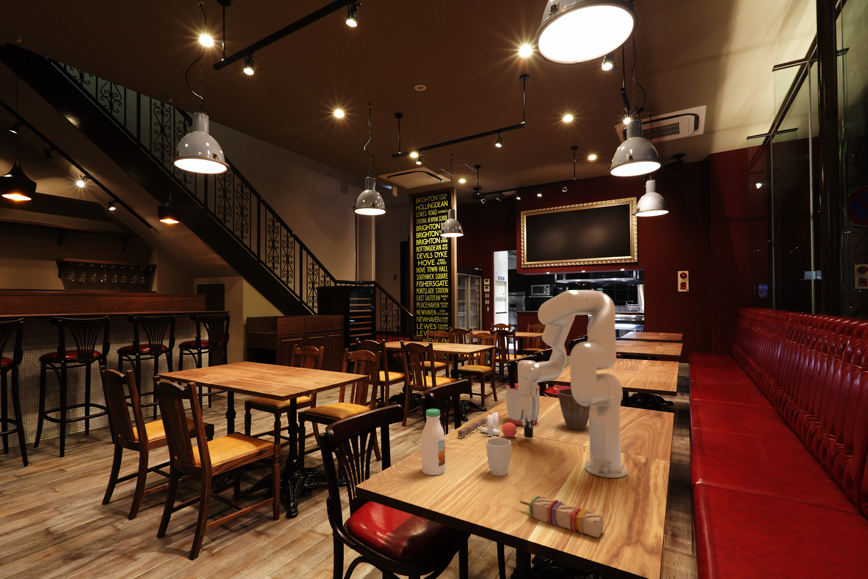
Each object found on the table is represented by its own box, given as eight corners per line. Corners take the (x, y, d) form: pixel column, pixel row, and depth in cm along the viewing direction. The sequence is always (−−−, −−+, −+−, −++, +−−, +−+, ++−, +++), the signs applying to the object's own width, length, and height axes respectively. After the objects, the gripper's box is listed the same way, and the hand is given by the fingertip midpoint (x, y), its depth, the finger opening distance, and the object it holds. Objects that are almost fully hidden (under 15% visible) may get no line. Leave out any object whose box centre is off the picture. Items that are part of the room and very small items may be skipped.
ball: (498, 424, 169) (501, 439, 168) (511, 423, 166) (514, 438, 165) (504, 421, 174) (507, 436, 173) (517, 420, 171) (520, 435, 170)
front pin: (498, 430, 171) (480, 427, 176) (498, 436, 171) (479, 433, 175) (500, 429, 173) (482, 426, 178) (500, 435, 173) (482, 432, 177)
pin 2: (496, 434, 174) (496, 414, 174) (491, 433, 175) (491, 413, 175) (499, 432, 176) (498, 412, 176) (494, 431, 177) (493, 412, 177)
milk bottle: (431, 478, 129) (431, 414, 130) (417, 470, 135) (416, 409, 136) (450, 471, 134) (449, 410, 135) (435, 465, 140) (434, 406, 141)
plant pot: (591, 435, 171) (589, 396, 171) (555, 430, 178) (554, 393, 179) (596, 426, 183) (595, 390, 184) (562, 422, 191) (561, 387, 192)
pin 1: (491, 437, 169) (491, 416, 170) (486, 436, 171) (486, 415, 171) (494, 435, 171) (493, 415, 172) (489, 434, 173) (488, 414, 173)
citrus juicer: (518, 415, 203) (517, 375, 204) (547, 423, 189) (546, 379, 190) (496, 421, 193) (496, 378, 194) (525, 429, 180) (524, 384, 181)
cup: (515, 471, 134) (514, 440, 135) (506, 480, 127) (505, 447, 128) (492, 466, 138) (491, 436, 139) (482, 475, 131) (482, 443, 132)
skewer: (605, 531, 98) (604, 510, 98) (597, 543, 93) (596, 521, 93) (526, 506, 111) (525, 487, 111) (515, 515, 106) (514, 496, 106)
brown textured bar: (462, 439, 168) (462, 431, 168) (458, 438, 169) (458, 430, 169) (487, 424, 188) (487, 418, 188) (483, 424, 189) (483, 417, 189)
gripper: (525, 387, 174) (526, 430, 173) (511, 393, 161) (512, 440, 160) (542, 389, 170) (543, 433, 169) (530, 395, 157) (531, 443, 156)
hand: (528, 437), depth 165 cm, fingers closed
